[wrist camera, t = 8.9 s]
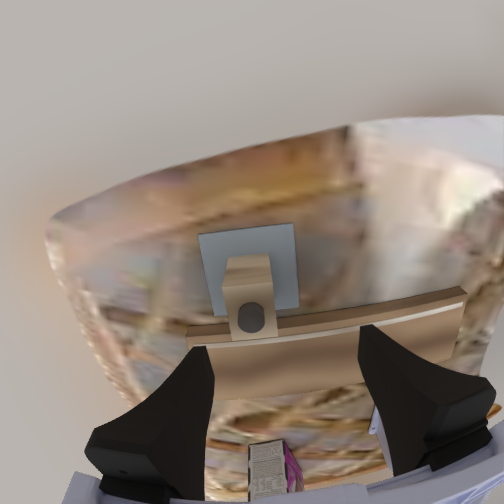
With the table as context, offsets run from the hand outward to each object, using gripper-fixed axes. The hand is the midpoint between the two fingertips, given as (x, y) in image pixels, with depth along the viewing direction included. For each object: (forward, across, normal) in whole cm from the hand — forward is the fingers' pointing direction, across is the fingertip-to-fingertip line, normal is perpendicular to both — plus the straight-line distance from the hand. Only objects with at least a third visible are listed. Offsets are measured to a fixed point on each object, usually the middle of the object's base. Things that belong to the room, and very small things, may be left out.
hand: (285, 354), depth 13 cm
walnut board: (+10, -5, +9) cm, 15 cm away
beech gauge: (+10, +2, +1) cm, 10 cm away
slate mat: (+10, +2, 0) cm, 11 cm away
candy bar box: (+11, +2, +29) cm, 31 cm away
